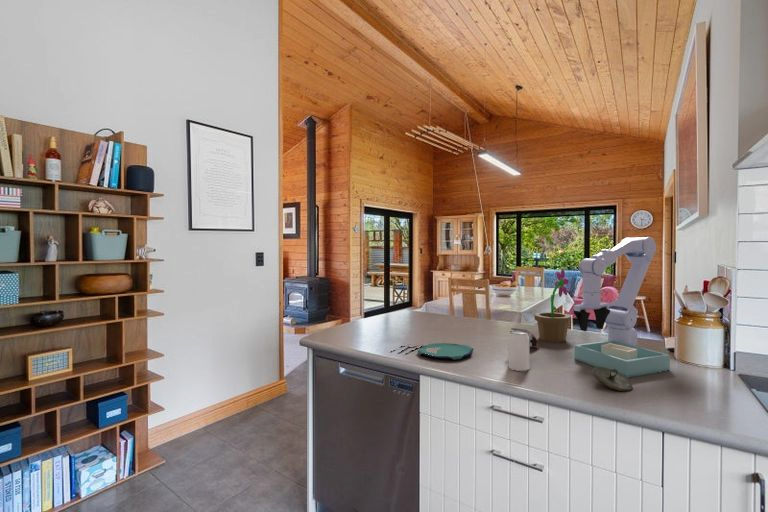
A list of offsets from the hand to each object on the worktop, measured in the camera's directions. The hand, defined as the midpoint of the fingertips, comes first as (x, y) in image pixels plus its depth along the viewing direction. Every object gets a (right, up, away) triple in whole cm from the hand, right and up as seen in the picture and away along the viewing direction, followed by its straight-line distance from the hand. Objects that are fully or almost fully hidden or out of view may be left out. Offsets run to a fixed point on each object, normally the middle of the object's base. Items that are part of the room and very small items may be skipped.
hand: (591, 329), depth 138 cm
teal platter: (-56, -11, +9) cm, 57 cm away
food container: (-26, -10, -3) cm, 28 cm away
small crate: (+4, -9, -10) cm, 14 cm away
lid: (-10, -11, -28) cm, 32 cm away
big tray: (+4, -10, -10) cm, 15 cm away
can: (-30, -11, -12) cm, 34 cm away
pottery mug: (-19, -10, +13) cm, 25 cm away
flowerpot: (-4, -9, +24) cm, 26 cm away
